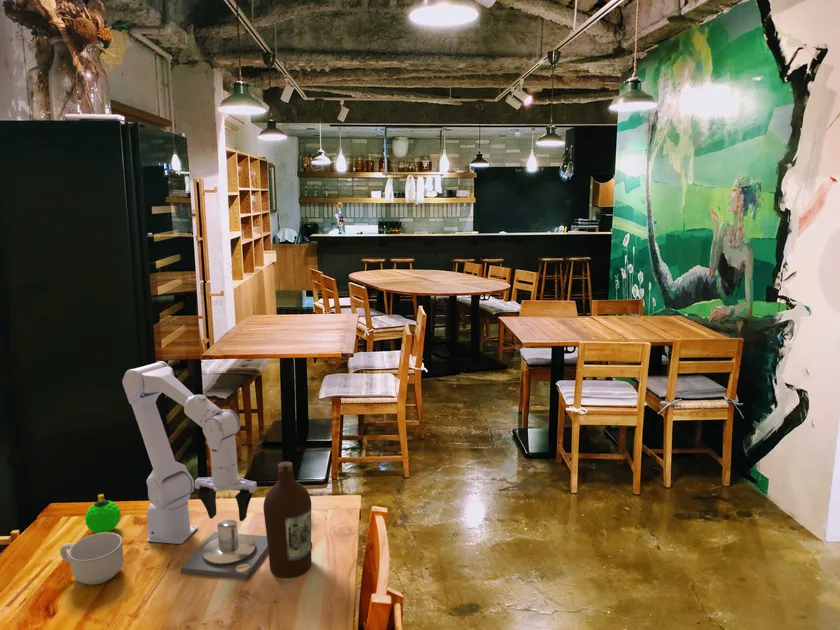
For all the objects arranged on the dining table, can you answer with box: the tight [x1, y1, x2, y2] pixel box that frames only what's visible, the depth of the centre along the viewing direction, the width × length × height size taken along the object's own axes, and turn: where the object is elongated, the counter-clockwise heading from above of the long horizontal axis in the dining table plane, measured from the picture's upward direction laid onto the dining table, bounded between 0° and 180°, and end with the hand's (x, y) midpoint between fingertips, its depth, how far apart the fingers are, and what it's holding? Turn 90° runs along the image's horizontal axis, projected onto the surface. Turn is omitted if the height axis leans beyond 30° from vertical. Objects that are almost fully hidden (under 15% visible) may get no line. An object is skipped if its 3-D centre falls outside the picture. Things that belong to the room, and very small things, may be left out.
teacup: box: [59, 531, 124, 586], centre depth 144 cm, size 14×11×8 cm
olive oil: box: [262, 461, 313, 579], centre depth 145 cm, size 11×11×25 cm
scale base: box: [179, 531, 268, 580], centre depth 151 cm, size 16×16×2 cm
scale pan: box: [202, 534, 255, 565], centre depth 151 cm, size 12×12×1 cm
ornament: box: [84, 493, 122, 534], centre depth 163 cm, size 8×8×10 cm
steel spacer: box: [217, 519, 239, 553], centre depth 151 cm, size 4×4×6 cm
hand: (227, 517), depth 151 cm, fingers open, 7 cm apart
